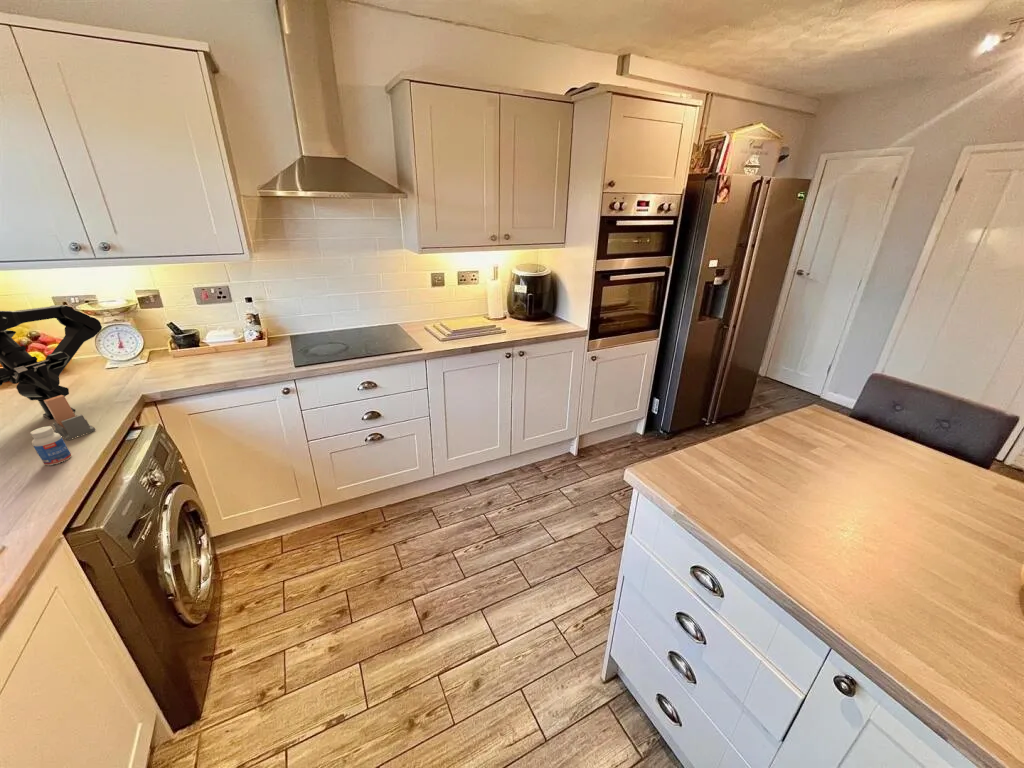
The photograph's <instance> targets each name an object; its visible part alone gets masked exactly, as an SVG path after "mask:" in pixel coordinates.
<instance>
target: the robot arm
mask: <svg viewBox="0 0 1024 768" xmlns="http://www.w3.org/2000/svg"><path fill="white" fill-rule="evenodd" d="M52 319H56V321H58V323H59V324H60V325H63V326H64V336H63V338H62V339H61V341H60V342H59V343H58V344H57V346H56V347H55V348H54V349H53V351H52V352H51V353H49V354H47V355H46V358H45V359H44V360H43V359H42V360H40V361H38V358H37V356H36V355H35V356H32V355H31V354H30V353H29V352H28V351H26V350H27V348H26V346H24V345H22V346H21V345H20V344H19V343H17V341H16V340H15V339H13V337H14V336H15V335H16V333H17V332H16V331H14V330H11V329H12V328H16V327H18V326H20V325H21V324H25V323H30V322H39V321H45V320H52ZM102 329H103V326H102V323H101V322H100V320H98V319H97V317H92V316H90V315H88V314H86V313H83V312H81V311H78V310H76V309H74V308H72V307H71V306H68V305H66V304H57V305H56V304H55V305H54V304H52V305H50V306H44V307H43V306H42V307H35V308H27V309H20V310H0V366H2V367H0V387H1V386H2V385H3V384H4V383H8V382H10V383H12V384H13V385H16V388H15V389H16V390H17V393H18V394H19V395H20V396H22V397H25V398H27V399H28V400H30V401H38V404H39V405H40V406H41V408H42V409H43V412H44V413H42V416H43V417H45V418H46V419H47V420H55V419H54V417H53V415H52V414H51V412H50V410H49V409H48V407H47V405H46V404H45V402H44V400H46V399H50V398H53V397H56V396H59V395H63V396H64V397H65V398H66V396H69V394H70V391H69V387H66V386H62V385H60V375H61V374H62V372H63V371H64V370H65V368H66V367H67V365H68V364H69V363H70V361H71V360H72V359H73V358H74V356H75V355H76V354H77V352H78V351H79V350H80V349H81V347H82V345H83V344H84V343H86V342H88V341H89V340H91V339H92V338H94V337H96V336H97V335H98V334H99V333H100V332H101V330H102ZM71 409H72V411H73V413H75V412H76V409H75V408H73V407H71Z"/></svg>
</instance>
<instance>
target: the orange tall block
mask: <svg viewBox="0 0 1024 768" xmlns="http://www.w3.org/2000/svg"><path fill="white" fill-rule="evenodd" d="M44 402H45V404H46V405H47V407H48V409H49V410H50V412H51V414H52V415H53V417H54V419H53V420H54V421H55V423H56V424H58V425H60V426H62V427H63V428H64V429H65V427H64V426H63V424H62V422H61V421H64V420H67V419H70V418H72V417H75V416H76V414H75V412H73V411H72V409H71V408H72V407H71V405H70V404H69V402H68V399H67V398H66V396H65V397H64V396H63V395H59V396H56V397H53V398H50V399H46V400H44ZM65 430H66V429H65Z"/></svg>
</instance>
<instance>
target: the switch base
mask: <svg viewBox="0 0 1024 768" xmlns="http://www.w3.org/2000/svg"><path fill="white" fill-rule="evenodd" d="M61 422H62V424H63V426H64V427H65V429H66V430H65V429H64V428H63V427H62V426H60V425H58V424H57V422H53V423H51V424H52V426H53V427H54V429H53V430H54V433H58V434H60V435H61V436H62V438H63V437H64V438H63V439H65V438H66V439H67V440H66V439H65V440H66V441H68V440H69V439H72V438H75V437H77V436H80V437H82V436H81V435H83V434H85V435H87V434H86V433H88V434H91V433H93V432H96V431H95V430H96V429H95V427H93V426H92V425H90V424H89V422H88V420H87V419H86V418H85V417H84V415H83V414H78V415H76V414H75V417H72V418H70V419H67V420H64V421H61ZM92 431H93V432H92ZM90 432H91V433H90ZM83 436H84V435H83ZM77 438H78V437H77ZM75 439H76V438H75ZM72 440H73V439H72ZM69 441H70V440H69Z"/></svg>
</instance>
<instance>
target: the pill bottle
mask: <svg viewBox="0 0 1024 768" xmlns="http://www.w3.org/2000/svg"><path fill="white" fill-rule="evenodd" d="M54 430H55V429H53V427H52V426H50V425H49V426H42V427H41V426H40V427H38V428H36V429H34V430H32V431H30V434H31V437H32V440H31V445H32V446H33V448H34V450H35V451H36V454H38V456H39V458H40V459H41V461H42V463H43V464H44V466H49V465H50V466H54V465H53V464H56V465H58V464H57V463H59V464H61V463H60V462H62V463H64V462H66V461H68V460H70V459H71V458H70V457H72V453H71V451H70V449H69V448H68V446H67V444H66V442H65V440H64V438H63V437H61V435H60V434H58V433H55V431H54ZM69 458H70V459H69ZM67 459H68V460H67ZM65 460H66V461H65ZM63 461H64V462H63Z"/></svg>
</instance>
